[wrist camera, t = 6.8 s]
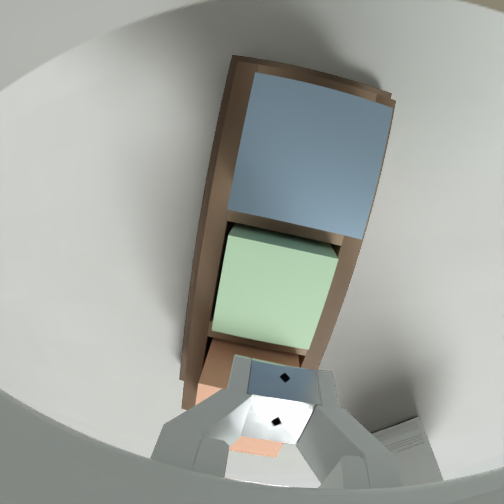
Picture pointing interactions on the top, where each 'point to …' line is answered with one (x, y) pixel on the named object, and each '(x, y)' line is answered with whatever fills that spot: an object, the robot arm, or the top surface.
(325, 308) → the divided box
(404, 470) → the supplement box
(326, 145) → the blue block
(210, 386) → the terracotta block
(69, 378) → the top surface
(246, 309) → the sage block
